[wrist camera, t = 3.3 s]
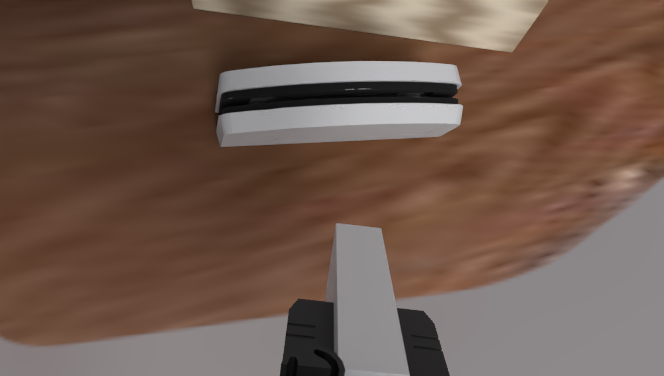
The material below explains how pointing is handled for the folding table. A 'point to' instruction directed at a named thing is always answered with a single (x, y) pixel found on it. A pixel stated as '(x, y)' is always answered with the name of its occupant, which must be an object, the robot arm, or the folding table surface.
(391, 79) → the white black rounded case
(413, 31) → the bench stop
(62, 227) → the folding table surface
